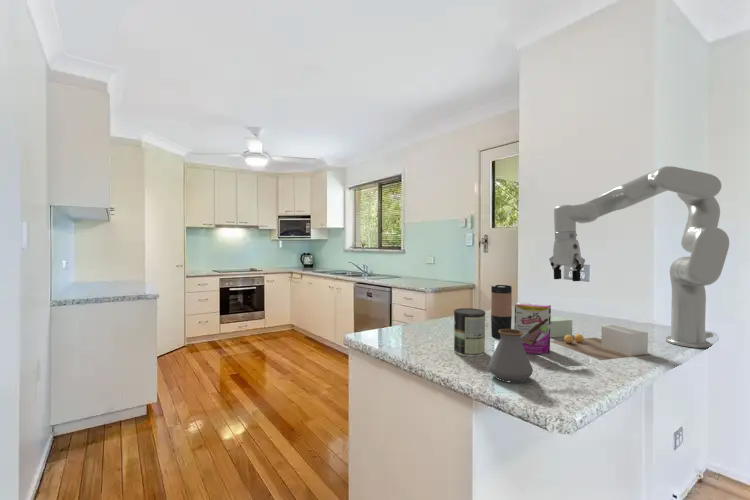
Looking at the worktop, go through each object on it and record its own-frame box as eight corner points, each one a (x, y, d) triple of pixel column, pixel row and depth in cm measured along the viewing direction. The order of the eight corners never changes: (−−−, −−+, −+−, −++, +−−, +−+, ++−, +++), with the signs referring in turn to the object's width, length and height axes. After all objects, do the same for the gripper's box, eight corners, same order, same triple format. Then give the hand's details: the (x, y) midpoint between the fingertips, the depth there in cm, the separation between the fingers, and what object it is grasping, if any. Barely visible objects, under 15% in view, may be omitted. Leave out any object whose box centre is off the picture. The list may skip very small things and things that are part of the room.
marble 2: (579, 341, 136) (579, 332, 136) (585, 343, 133) (585, 334, 133) (572, 341, 136) (572, 333, 136) (578, 343, 133) (578, 335, 133)
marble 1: (568, 341, 135) (569, 333, 135) (575, 344, 132) (575, 335, 132) (561, 342, 134) (562, 334, 134) (568, 344, 132) (568, 336, 131)
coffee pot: (511, 389, 95) (511, 330, 95) (479, 374, 105) (479, 321, 105) (566, 375, 105) (566, 321, 104) (532, 363, 115) (532, 314, 115)
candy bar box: (513, 352, 126) (514, 304, 125) (514, 348, 130) (515, 302, 130) (550, 357, 121) (550, 306, 120) (550, 352, 125) (550, 304, 125)
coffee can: (449, 354, 125) (449, 311, 124) (459, 346, 133) (459, 307, 133) (480, 359, 119) (480, 315, 119) (488, 350, 128) (488, 309, 128)
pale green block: (558, 333, 151) (559, 316, 151) (572, 337, 145) (572, 319, 144) (535, 335, 149) (535, 317, 148) (547, 339, 142) (548, 321, 142)
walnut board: (595, 340, 141) (595, 337, 141) (652, 357, 120) (652, 354, 120) (549, 343, 136) (549, 341, 136) (600, 363, 115) (600, 359, 115)
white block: (601, 346, 130) (601, 326, 129) (617, 344, 131) (617, 324, 131) (630, 355, 119) (630, 333, 119) (647, 353, 121) (647, 332, 121)
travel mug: (512, 339, 142) (513, 287, 141) (491, 338, 143) (492, 286, 143) (509, 334, 149) (510, 285, 149) (489, 334, 151) (490, 284, 150)
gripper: (591, 235, 140) (592, 281, 140) (557, 237, 157) (558, 277, 157) (574, 236, 138) (576, 282, 138) (542, 237, 155) (543, 279, 155)
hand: (566, 280), depth 148 cm, fingers open, 9 cm apart
